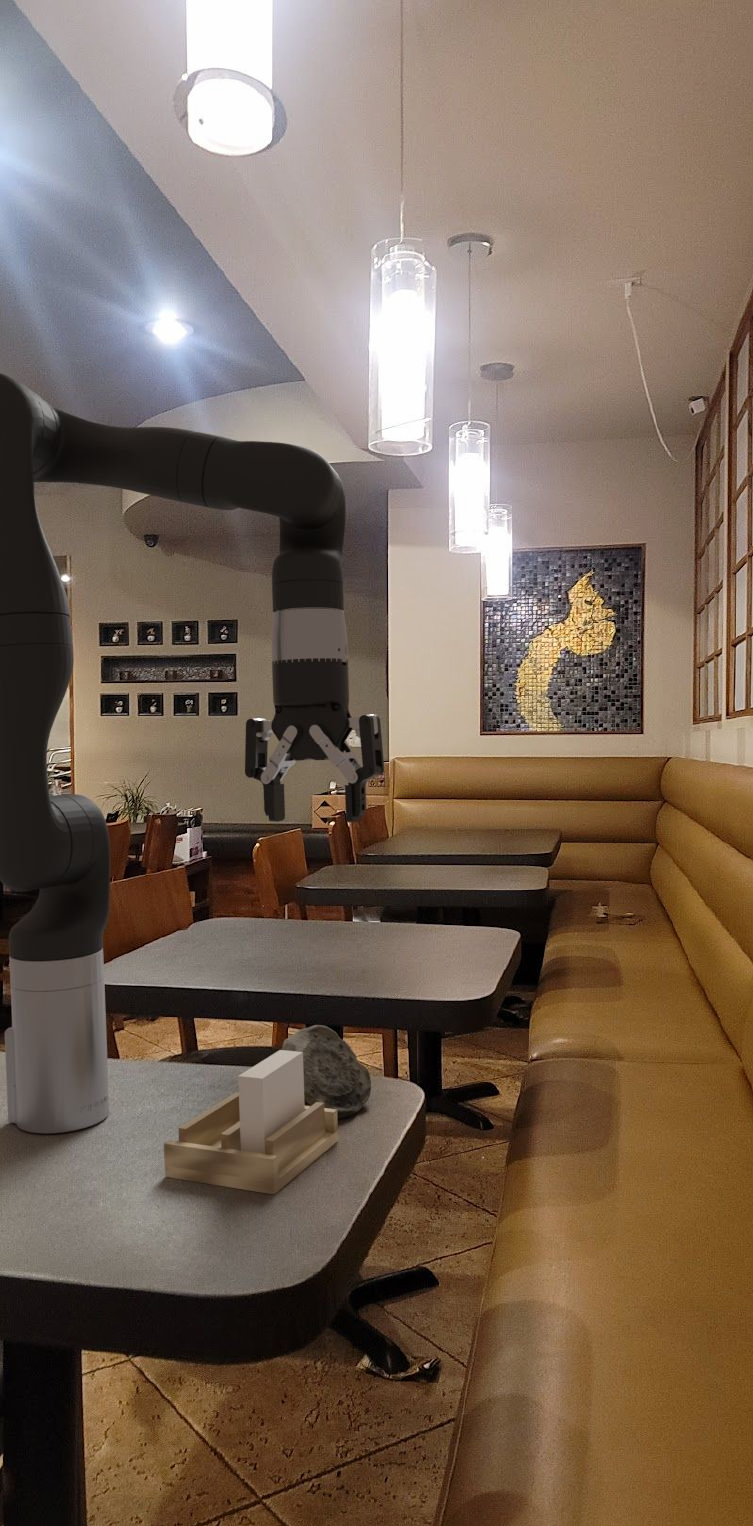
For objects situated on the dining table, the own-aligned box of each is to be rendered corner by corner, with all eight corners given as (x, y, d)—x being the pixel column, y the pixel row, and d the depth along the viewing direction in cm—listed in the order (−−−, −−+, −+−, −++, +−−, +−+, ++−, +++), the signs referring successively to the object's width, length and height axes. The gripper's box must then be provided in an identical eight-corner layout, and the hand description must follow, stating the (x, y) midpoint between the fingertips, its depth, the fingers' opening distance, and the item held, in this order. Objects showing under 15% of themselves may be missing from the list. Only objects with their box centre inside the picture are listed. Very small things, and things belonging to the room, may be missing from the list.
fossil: (357, 1124, 105) (307, 1033, 106) (280, 1162, 108) (232, 1073, 108) (384, 1084, 116) (338, 1002, 117) (314, 1119, 118) (269, 1038, 119)
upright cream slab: (241, 1165, 95) (238, 1075, 95) (282, 1133, 103) (280, 1049, 102) (265, 1169, 94) (262, 1078, 94) (305, 1136, 102) (302, 1051, 101)
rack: (165, 1176, 96) (163, 1131, 96) (238, 1126, 107) (236, 1087, 107) (274, 1194, 91) (272, 1147, 91) (338, 1140, 103) (336, 1099, 103)
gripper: (227, 659, 106) (233, 824, 107) (360, 651, 100) (365, 825, 101) (265, 663, 113) (270, 817, 113) (391, 655, 107) (395, 818, 108)
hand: (315, 821), depth 107 cm, fingers open, 8 cm apart
